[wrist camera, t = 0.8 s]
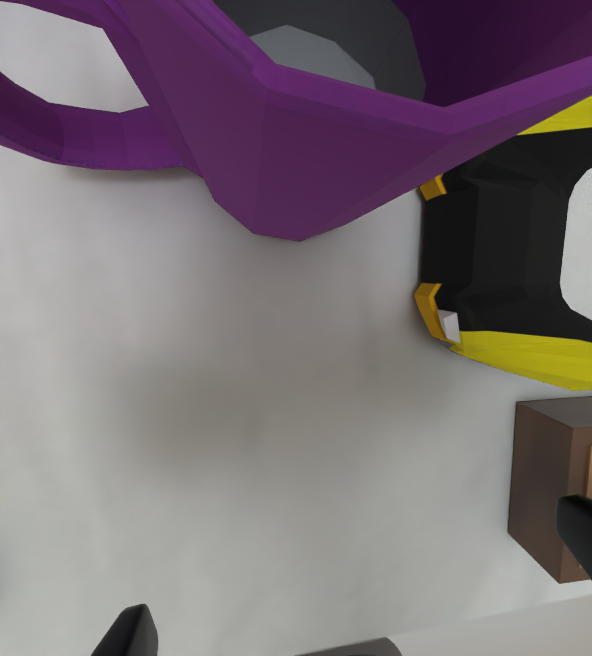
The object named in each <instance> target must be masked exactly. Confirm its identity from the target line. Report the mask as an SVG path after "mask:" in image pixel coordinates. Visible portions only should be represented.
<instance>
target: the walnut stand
mask: <svg viewBox="0 0 592 656" xmlns="http://www.w3.org/2000/svg"><path fill="white" fill-rule="evenodd" d="M572 493H577V494H581V495H583V496H586V497H588V498H591V499H592V396H590V397H577V398H564V399H551V400H538V401H525V402H517V409H516V424H515V439H514V454H513V469H512V484H511V499H510V514H509V529H508V533H509V535H510V536H511V537H512V538H513V539H514V540H515V541H516V542H517V543H518V544H519V545H520V546H521V547H523V548H524V549H525V550H526V551H527V552H528V553H529V554H530V555H531V556H532V557H533V558H534V559H535V560H536V561H537V562H538V563H539V564H540V565H541V566H542V567H543V568H544V569H545V570H546V571H547V572H548V573H549V574H550V575H551V576H552V577H553V578H554V579H555V580H556V581H557V582H558V583H559V584H562V583H569V582H576V581H582V580H589V579H590V577H589V576H588V575H587V573H586V572H585V571H584V569H583V568H582V567H581V565H580V564H579V563H578V561H577V560H576V559H575V557H574V556H573V555H572V553H571V552H570V551H569V549H568V548H567V547H566V545H565V544H564V543H563V541H562V540H561V539H560V537H559V535H558V534H557V531H556V528H555V515H556V501H557V499H558V498H559V497H560V496H564V495H568V494H572Z"/></svg>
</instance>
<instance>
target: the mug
mask: <svg viewBox="0 0 592 656" xmlns="http://www.w3.org/2000/svg"><path fill="white" fill-rule="evenodd" d="M0 1H4V2H11V3H18V4H24V5H27V6H30V7H33V8H37V9H40V10H43V11H47V12H50V13H53V14H57V15H60V16H63V17H66V18H70V19H73V20H76V21H80V22H83V23H86V24H89V25H93V26H96V27H99V28H103V30H104V31H105V33H106V35H107V36H108V38H109V40H110V41H111V43H112V45H113V46H114V48H115V50H116V51H117V53H118V55H119V56H120V58H121V60H122V61H123V63H124V65H125V66H126V68H127V70H128V71H129V73H130V75H131V76H132V78H133V80H134V81H135V83H136V85H137V86H138V88H139V90H140V91H141V93H142V95H143V96H144V98H145V100H146V101H147V103H148V105H149V106H145V107H141V108H137V109H133V110H129V111H125V112H121V113H117V112H109V111H102V110H94V109H86V108H79V107H73V106H67V105H61V104H55V103H49V102H47V101H45V100H43V99H42V98H40V97H38V96H36V95H35V94H33V93H31V92H29V91H27V90H26V89H24V88H22V87H20V86H19V85H17V84H15V83H14V82H13V81H11V80H10V79H9V78H7V77H6V76H5V75H4V74H2V73H1V72H0V145H2V146H4V147H7V148H10V149H13V150H15V151H18V152H21V153H23V154H26V155H29V156H32V157H34V158H37V159H40V160H43V161H46V162H50V163H56V164H62V165H69V166H75V167H82V168H89V169H102V170H157V169H164V168H171V167H178V166H184V167H186V168H187V169H189V170H191V171H192V172H194V173H196V174H198V175H199V176H201V177H203V178H204V180H205V182H206V184H207V186H208V188H209V190H210V192H211V194H212V197H213V199H214V201H215V202H217V203H218V204H219V205H220V206H221V207H223V208H224V209H225V210H226V211H227V212H229V213H230V214H231V215H232V216H233V217H235V218H236V219H237V220H238V221H239V222H240V223H242V224H243V225H244V226H245V227H246V228H248V229H249V230H250V231H251V232H252V233H254V234H259V235H265V236H271V237H277V238H283V239H288V240H294V241H302V240H305V239H308V238H310V237H313V236H316V235H318V234H321V233H324V232H326V231H329V230H332V229H334V228H337V227H340V226H342V225H345V224H347V223H349V222H351V221H353V220H355V219H357V218H359V217H361V216H362V215H364V214H366V213H368V212H370V211H372V210H374V209H376V208H378V207H380V206H382V205H383V204H385V203H387V202H389V201H391V200H393V199H395V198H397V197H399V196H401V195H403V194H404V193H406V192H408V191H410V190H412V189H414V188H416V187H418V186H420V185H422V184H424V183H425V182H427V181H429V180H431V179H433V178H435V177H437V176H439V175H441V174H443V173H445V172H446V171H448V170H450V169H452V168H454V167H456V166H458V165H460V164H462V163H464V162H466V161H467V160H469V159H471V158H473V157H475V156H477V155H479V154H481V153H483V152H485V151H487V150H488V149H490V148H492V147H494V146H496V145H498V144H500V143H502V142H504V141H506V140H508V139H509V138H511V137H513V136H515V135H517V134H519V133H521V132H523V131H525V130H527V129H529V128H530V127H532V126H534V125H536V124H538V123H540V122H542V121H544V120H546V119H548V118H550V117H551V116H553V115H555V114H557V113H559V112H561V111H563V110H565V109H567V108H569V107H571V106H572V105H574V104H576V103H578V102H580V101H582V100H584V99H586V98H588V97H590V96H592V0H0Z"/></svg>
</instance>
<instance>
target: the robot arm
mask: <svg viewBox="0 0 592 656" xmlns="http://www.w3.org/2000/svg"><path fill="white" fill-rule="evenodd" d="M555 528H556V531H557V534H558V535H559V537H560V539H561V540H562V541H563V543H564V544H565V545H566V547H567V548H568V549H569V551H570V552H571V553H572V555H573V556H574V557H575V559H576V560H577V561H578V563H579V564H580V565H581V567H582V568H583V569H584V571H585V572H586V573H587V575H588V576H589V577H590V579H591V580H592V499H591V498H588V497H586V496H583V495H581V494H577V493H572V494H568V495H564V496H560V497H559V498H558V499H557V501H556V515H555ZM157 652H158V634H157V630H156V627H155V624H154V622H153V619H152V616H151V613H150V611H149V608H148V606H147V605H146V604H139V605H135V606H131V607H128V608H126V609H124V610H123V611H122V612H121V613H120V615H119V616H118V618H117V619H116V620H115V622H114V623H113V625H112V626H111V627H110V629H109V630H108V632H107V633H106V634H105V636H104V637H103V639H102V640H101V642H100V643H99V644H98V646H97V647H96V649H95V650H94V651H93V653H92V654H91V656H157Z"/></svg>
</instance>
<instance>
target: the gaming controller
mask: <svg viewBox="0 0 592 656" xmlns="http://www.w3.org/2000/svg"><path fill="white" fill-rule="evenodd" d="M591 168H592V96H590V97H588V98H586V99H584V100H582V101H580V102H578V103H576V104H574V105H572V106H571V107H569V108H567V109H565V110H563V111H561V112H559V113H557V114H555V115H553V116H551V117H550V118H548V119H546V120H544V121H542V122H540V123H538V124H536V125H534V126H532V127H530V128H529V129H527V130H525V131H523V132H521V133H519V134H517V135H515V136H513V137H511V138H509V139H508V140H506V141H504V142H502V143H500V144H498V145H496V146H494V147H492V148H490V149H488V150H487V151H485V152H483V153H481V154H479V155H477V156H475V157H473V158H471V159H469V160H467V161H466V162H464V163H462V164H460V165H458V166H456V167H454V168H452V169H450V170H448V171H446V172H445V173H443V174H441V175H439V176H437V177H435V178H433V179H431V180H429V181H427V182H425V183H424V184H422V185H421V187H420V189H421V191H422V193H423V195H424V197H425V199H426V202H425V218H424V236H423V254H422V272H421V285H420V286H419V288H418V290H417V291H416V293H415V294H414V295H415V299H416V302H417V306H418V308H419V310H420V312H421V314H422V317H423V319H424V321H425V323H426V325H427V327H428V329H429V331H430V334H431V336H432V337H435V338H438V339H440V340H441V343H442V345H443V346H445V347H446V348H448V349H449V350H451V351H453V352H455V353H458V354H460V355H463V356H465V357H468V358H471V359H473V360H476V361H478V362H481V363H484V364H486V365H489V366H492V367H495V368H498V369H501V370H504V371H507V372H511V373H514V374H518V375H521V376H525V377H528V378H532V379H535V380H538V381H542V382H545V383H549V384H552V385H556V386H559V387H562V388H566V389H569V390H573V391H580V390H592V320H590V319H588V318H586V317H584V316H583V315H581V314H579V313H577V312H575V311H573V310H572V309H570V307H569V306H568V304H567V303H566V302H565V300H564V299H563V297H562V293H561V288H560V275H561V266H562V257H563V248H564V239H565V230H566V221H567V212H568V203H569V199H570V196H571V194H572V191H573V188H574V186H575V184H576V183H577V182H578V181H579V179H580V178H581V177H582V176H583V175H584V173H585V172H586V171H587V170H589V169H591Z"/></svg>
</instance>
